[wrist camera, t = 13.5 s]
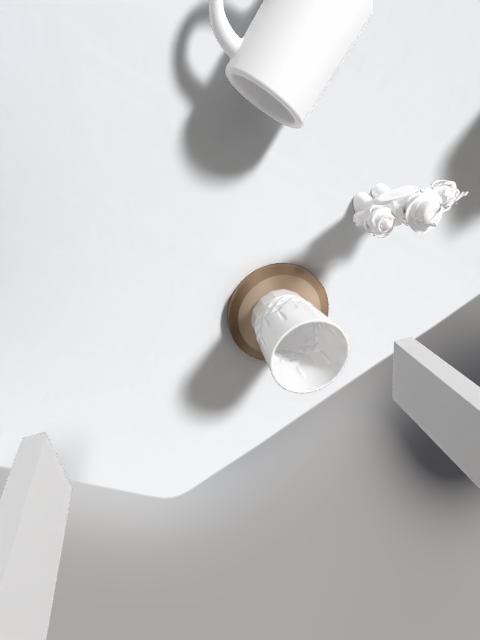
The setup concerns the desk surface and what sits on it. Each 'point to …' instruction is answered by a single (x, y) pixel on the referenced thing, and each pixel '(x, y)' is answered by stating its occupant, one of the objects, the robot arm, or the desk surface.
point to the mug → (289, 52)
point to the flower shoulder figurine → (404, 207)
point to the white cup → (298, 342)
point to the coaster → (259, 286)
